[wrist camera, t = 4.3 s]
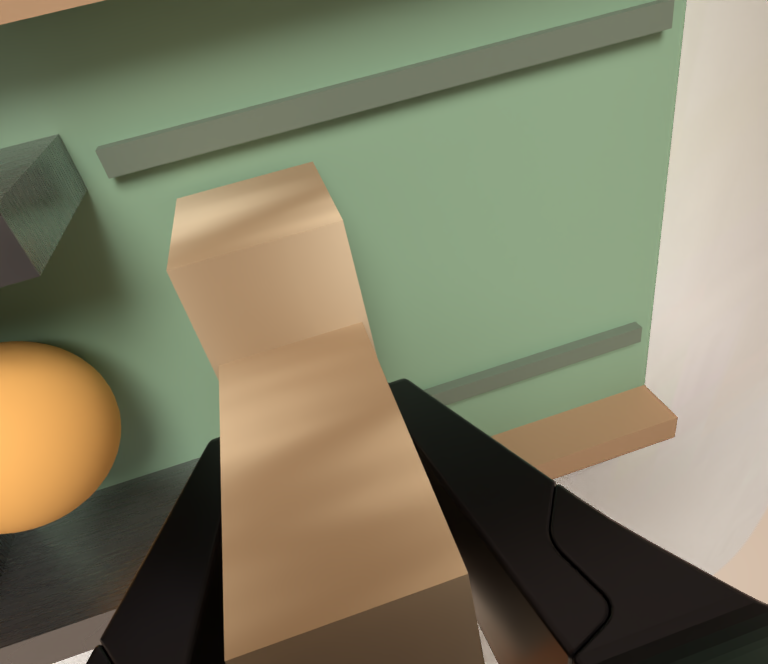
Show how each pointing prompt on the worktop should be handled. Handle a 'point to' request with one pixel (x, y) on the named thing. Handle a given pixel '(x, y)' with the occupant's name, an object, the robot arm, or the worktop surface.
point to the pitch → (367, 196)
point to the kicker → (312, 442)
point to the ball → (51, 433)
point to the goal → (105, 506)
